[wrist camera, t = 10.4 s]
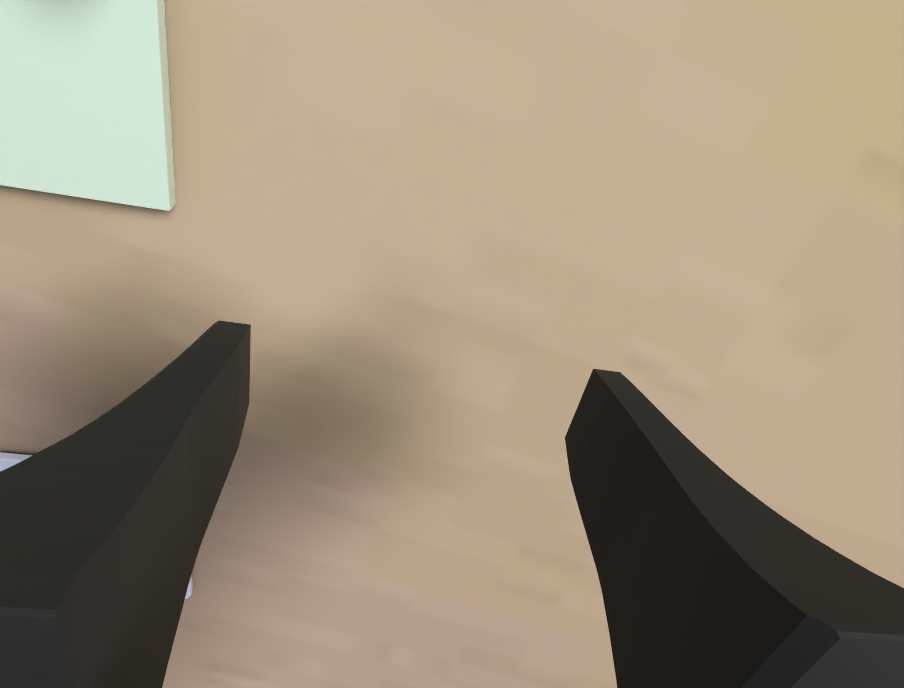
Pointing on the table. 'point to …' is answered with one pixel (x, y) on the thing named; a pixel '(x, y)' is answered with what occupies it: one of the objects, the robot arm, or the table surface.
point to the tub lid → (86, 100)
